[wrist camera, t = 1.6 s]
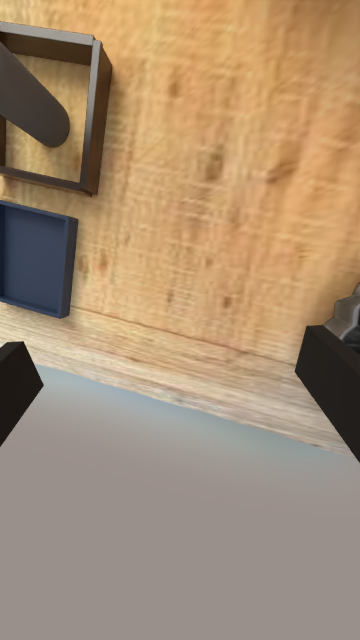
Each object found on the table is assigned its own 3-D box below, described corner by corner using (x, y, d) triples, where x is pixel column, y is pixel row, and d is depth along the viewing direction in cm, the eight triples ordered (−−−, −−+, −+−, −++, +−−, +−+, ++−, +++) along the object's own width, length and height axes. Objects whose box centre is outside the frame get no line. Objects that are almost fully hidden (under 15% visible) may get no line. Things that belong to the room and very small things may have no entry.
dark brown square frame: (1, 42, 31) (-24, 17, 27) (113, 60, 29) (101, 36, 26) (0, 177, 35) (-21, 168, 32) (97, 199, 33) (85, 192, 30)
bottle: (40, 152, 33) (-95, 66, 19) (28, 107, 32) (-126, -23, 18) (74, 141, 32) (-41, 41, 18) (63, 94, 31) (-71, -56, 16)
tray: (4, 201, 36) (-10, 197, 34) (78, 219, 35) (69, 216, 33) (3, 297, 40) (-9, 299, 38) (69, 315, 39) (60, 318, 37)
